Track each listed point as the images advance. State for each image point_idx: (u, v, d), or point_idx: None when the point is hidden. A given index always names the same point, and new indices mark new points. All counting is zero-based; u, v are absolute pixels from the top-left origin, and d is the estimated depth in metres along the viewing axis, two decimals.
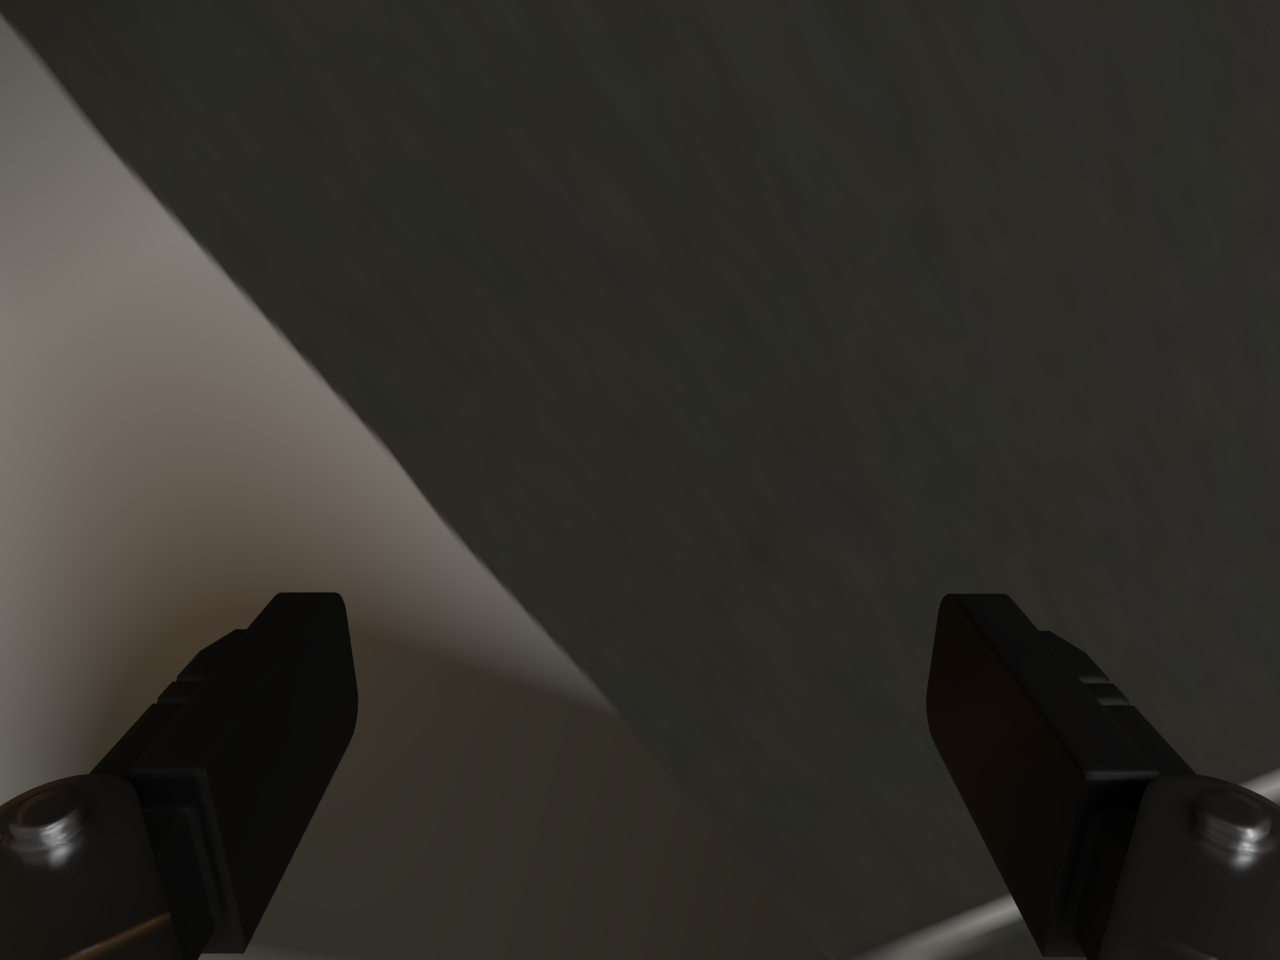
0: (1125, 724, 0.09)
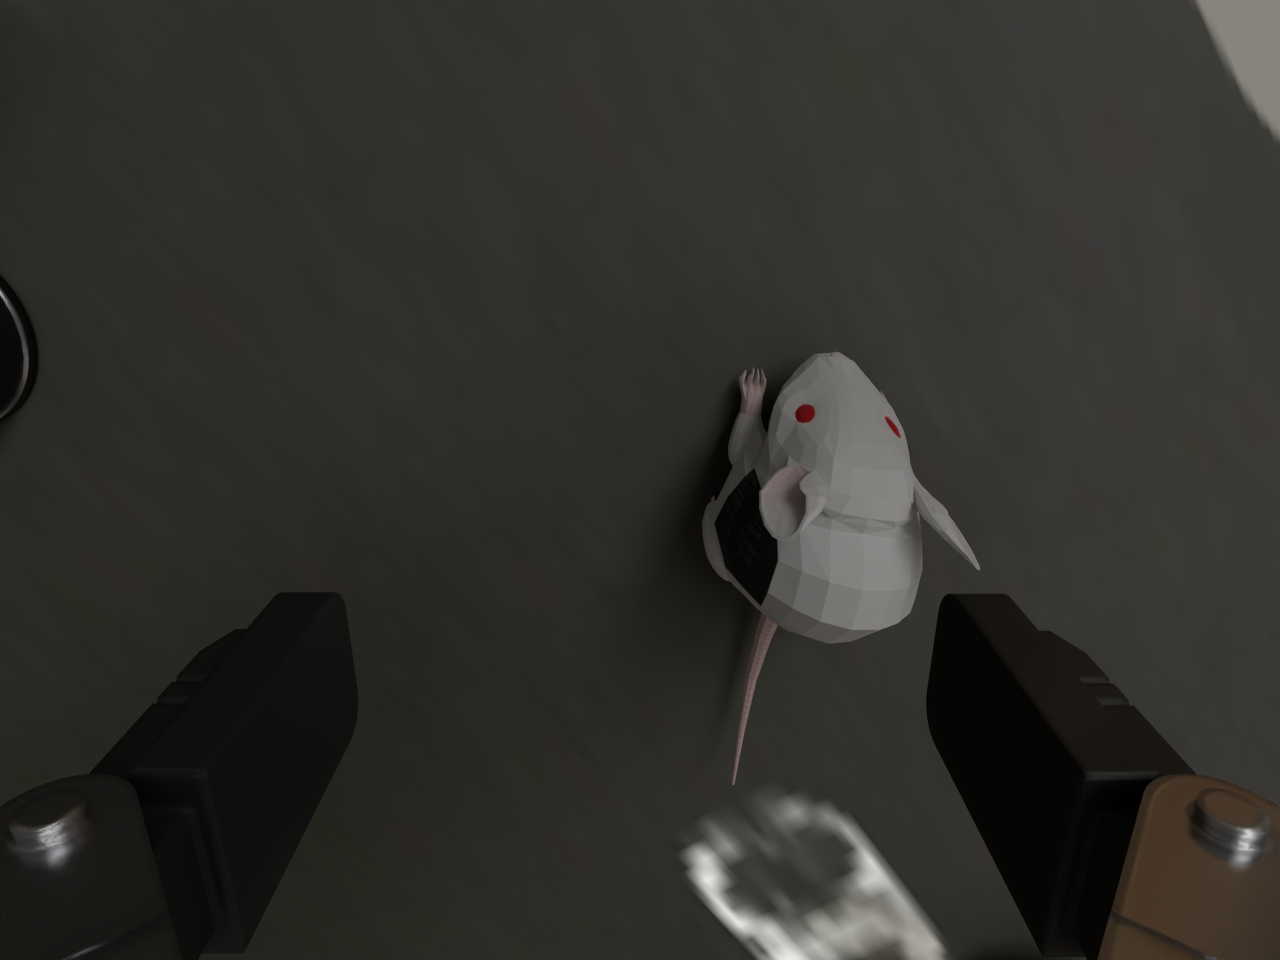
0: (1125, 724, 0.09)
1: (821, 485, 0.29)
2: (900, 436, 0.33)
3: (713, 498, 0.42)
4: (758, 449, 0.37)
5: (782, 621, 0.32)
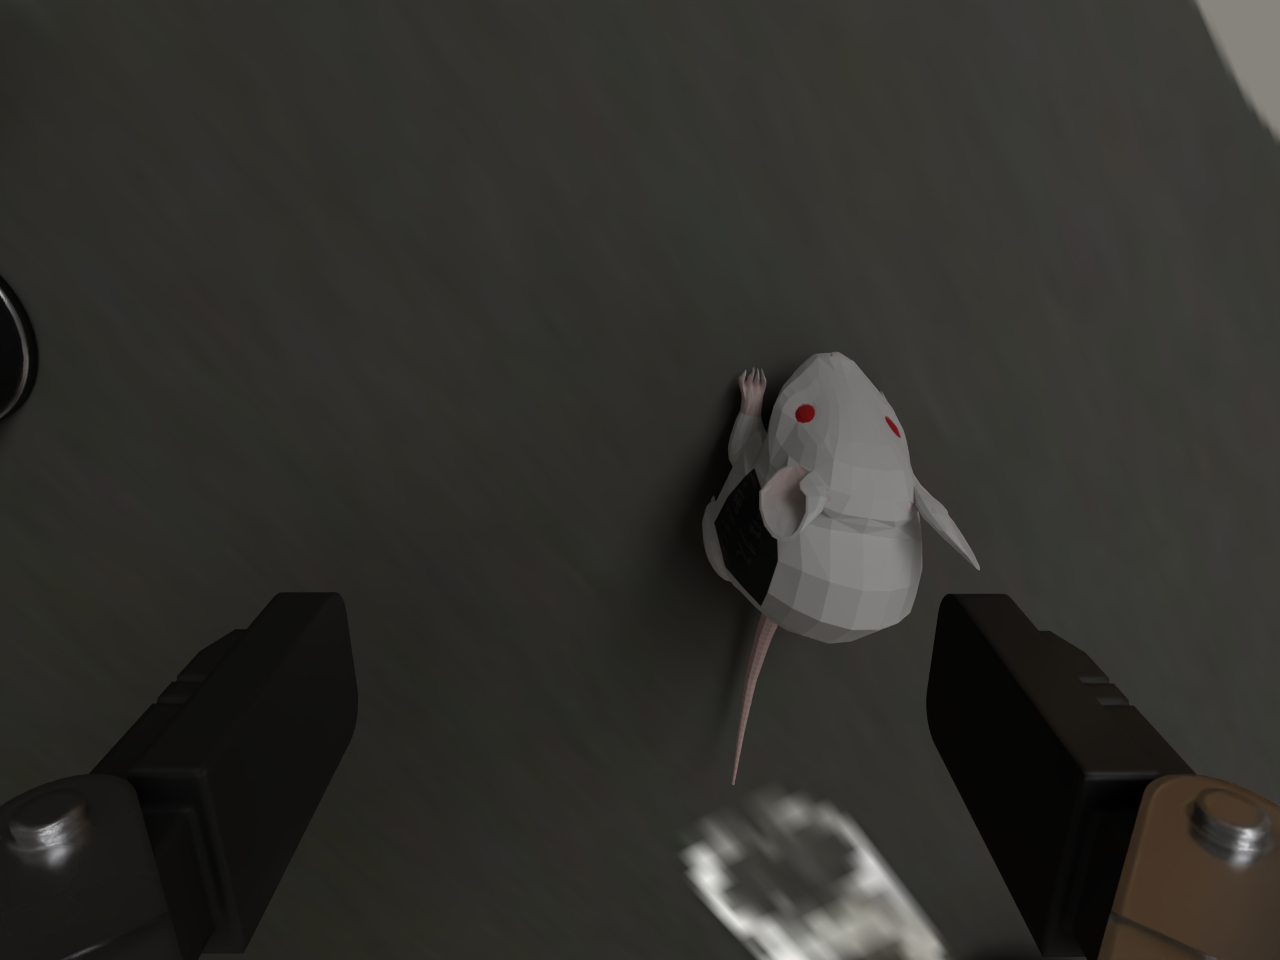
0: (1125, 724, 0.09)
1: (821, 485, 0.29)
2: (900, 436, 0.33)
3: (713, 498, 0.42)
4: (758, 449, 0.37)
5: (782, 621, 0.32)
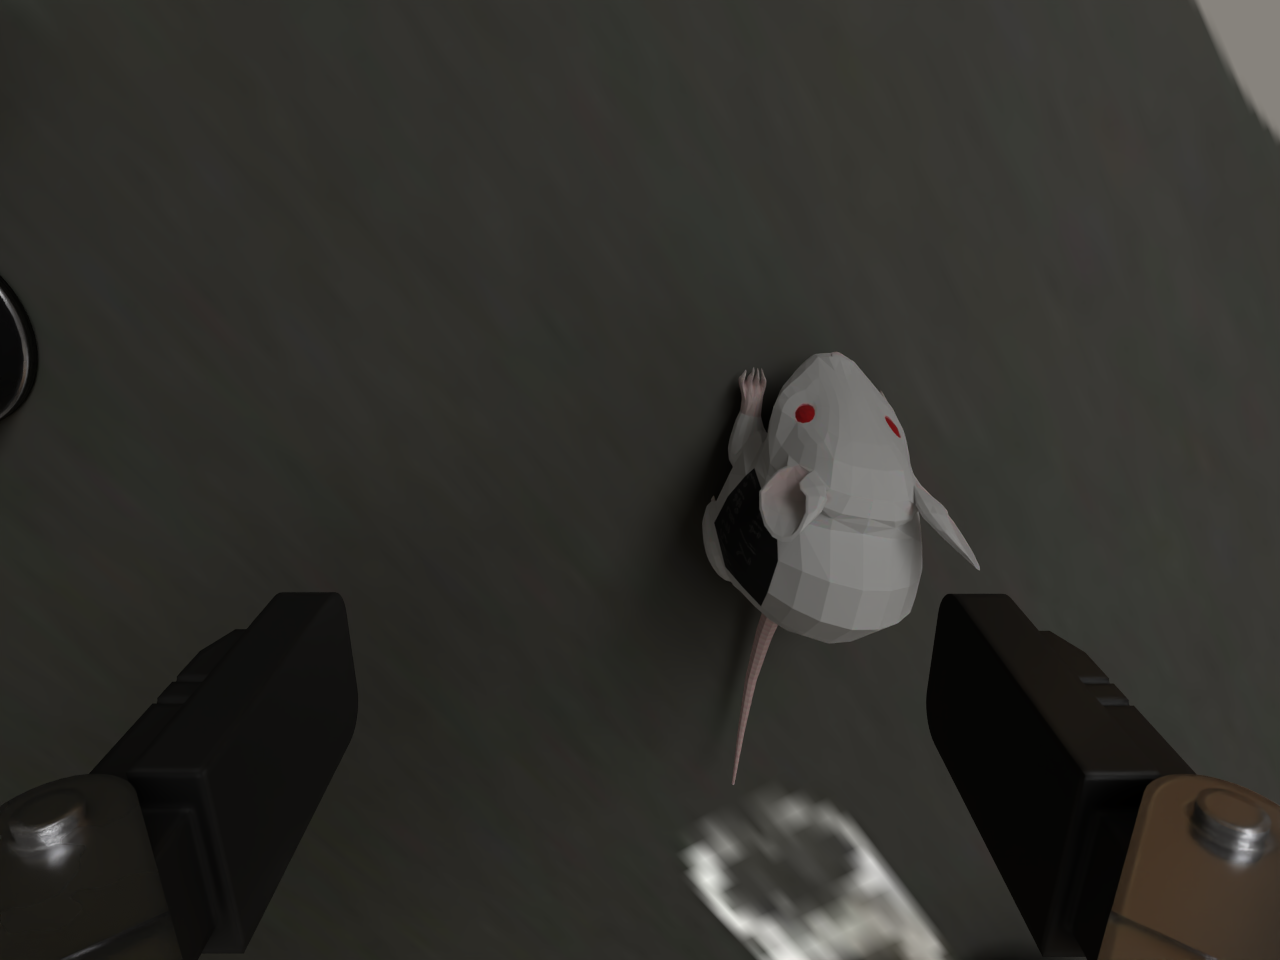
0: (1125, 724, 0.09)
1: (821, 485, 0.29)
2: (900, 436, 0.33)
3: (713, 498, 0.42)
4: (758, 449, 0.37)
5: (782, 621, 0.32)
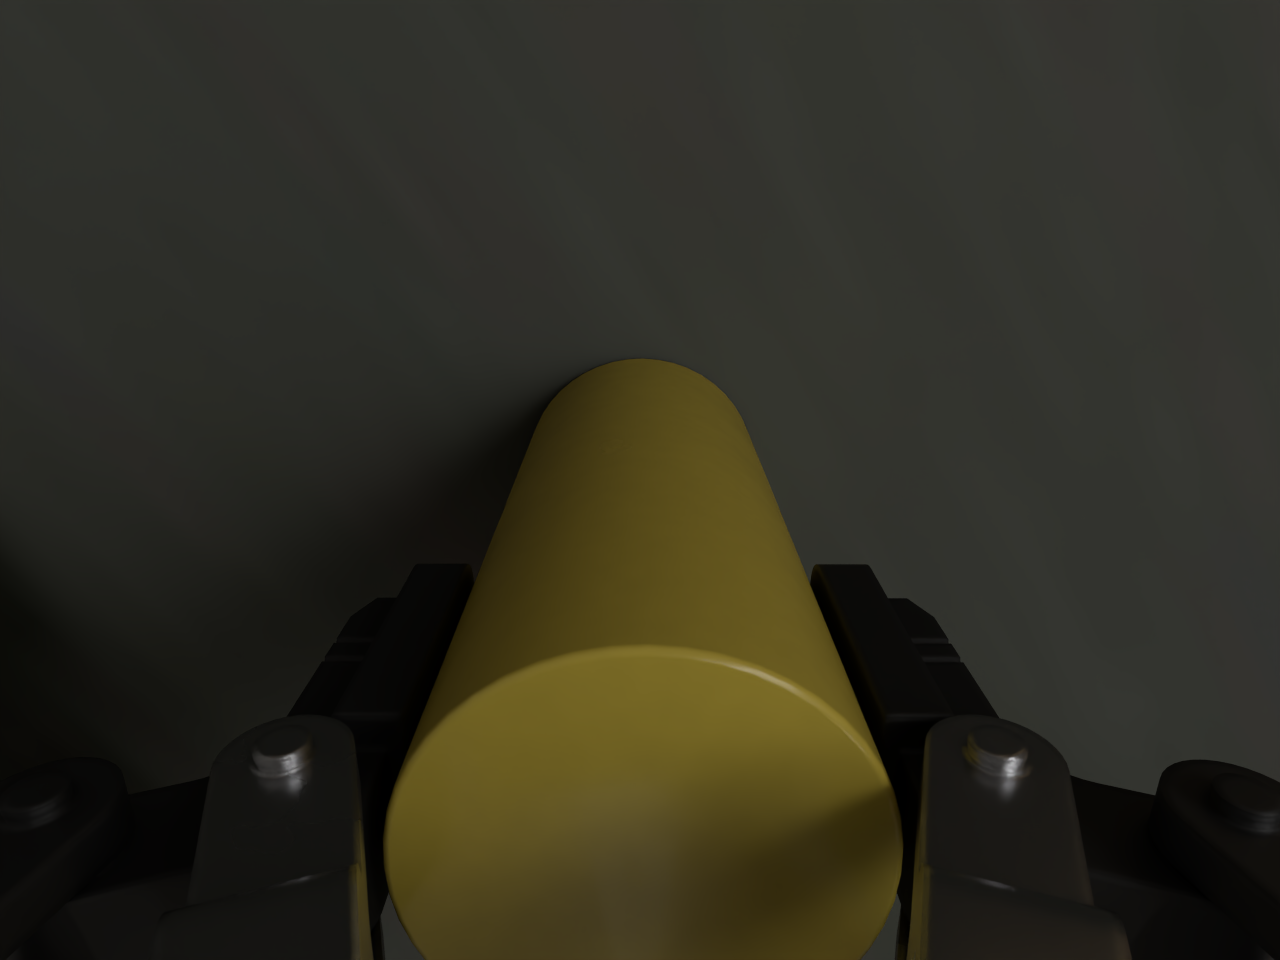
0: (951, 678, 0.09)
1: None
2: None
3: None
4: None
5: None
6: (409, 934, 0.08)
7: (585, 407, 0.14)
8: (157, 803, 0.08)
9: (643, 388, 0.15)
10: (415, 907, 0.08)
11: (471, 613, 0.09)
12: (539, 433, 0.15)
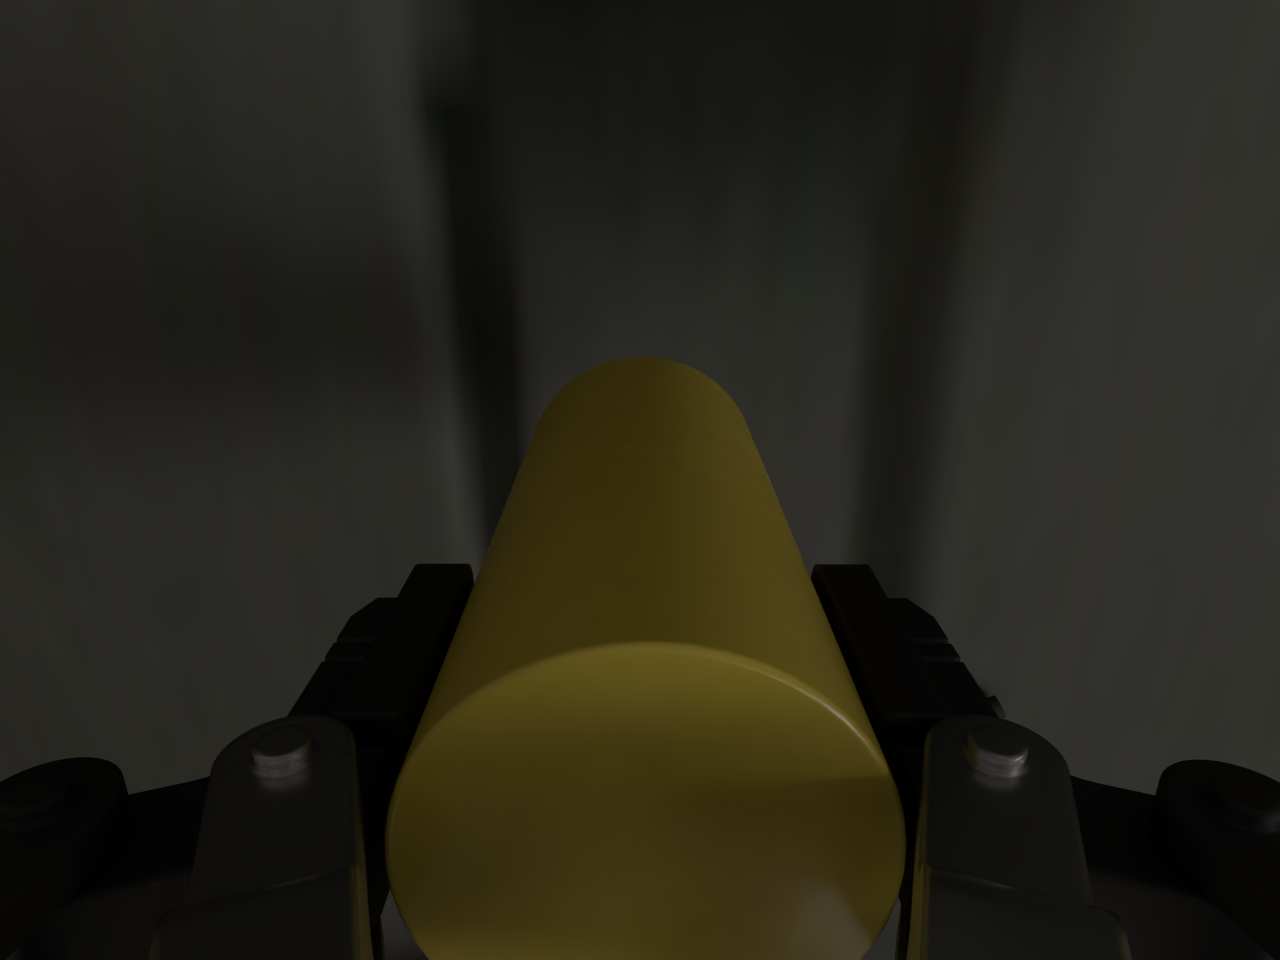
0: (951, 678, 0.09)
1: None
2: None
3: None
4: None
5: None
6: (411, 931, 0.08)
7: (586, 405, 0.14)
8: (158, 802, 0.08)
9: (645, 386, 0.15)
10: (417, 904, 0.08)
11: (473, 610, 0.09)
12: (540, 431, 0.15)
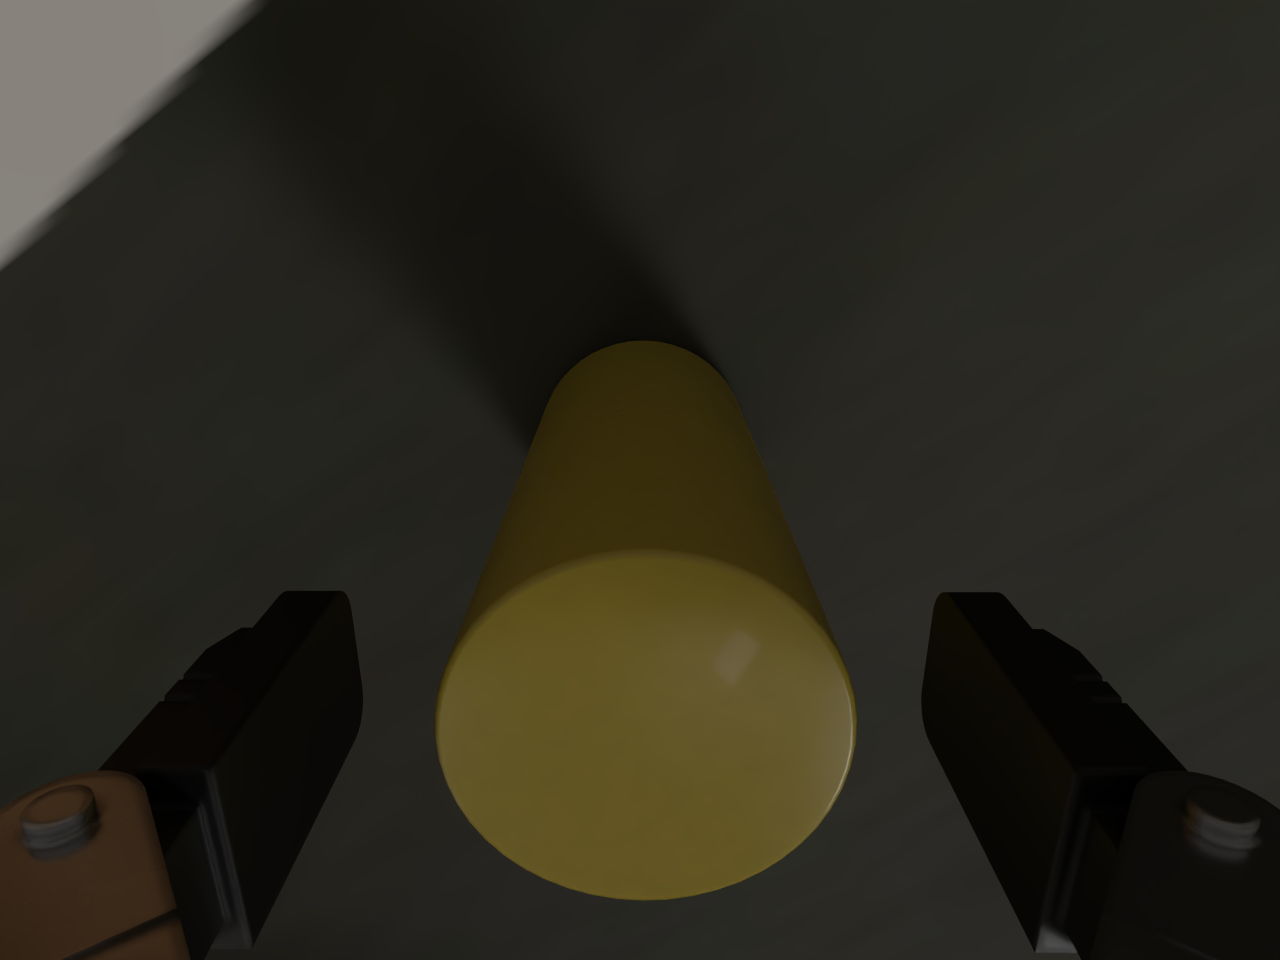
0: (1118, 721, 0.09)
1: None
2: None
3: None
4: None
5: None
6: (455, 795, 0.10)
7: (593, 381, 0.16)
8: None
9: (646, 365, 0.17)
10: (460, 771, 0.10)
11: (501, 541, 0.11)
12: (552, 405, 0.17)
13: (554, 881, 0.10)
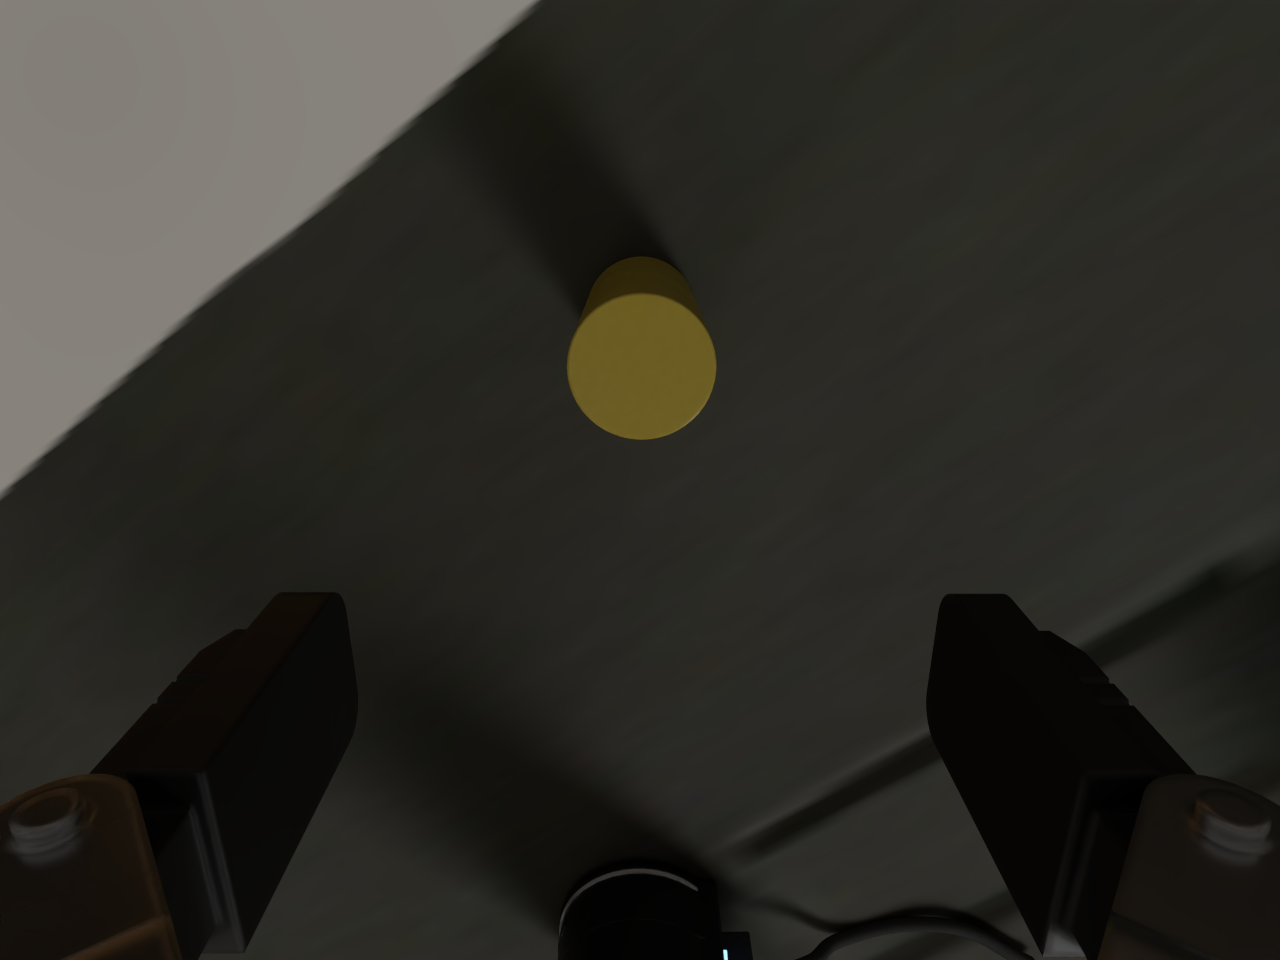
0: (1125, 724, 0.09)
1: None
2: None
3: None
4: None
5: None
6: (573, 391, 0.27)
7: (617, 269, 0.33)
8: None
9: (642, 262, 0.34)
10: (575, 381, 0.27)
11: (586, 310, 0.28)
12: (596, 284, 0.34)
13: (607, 430, 0.27)
